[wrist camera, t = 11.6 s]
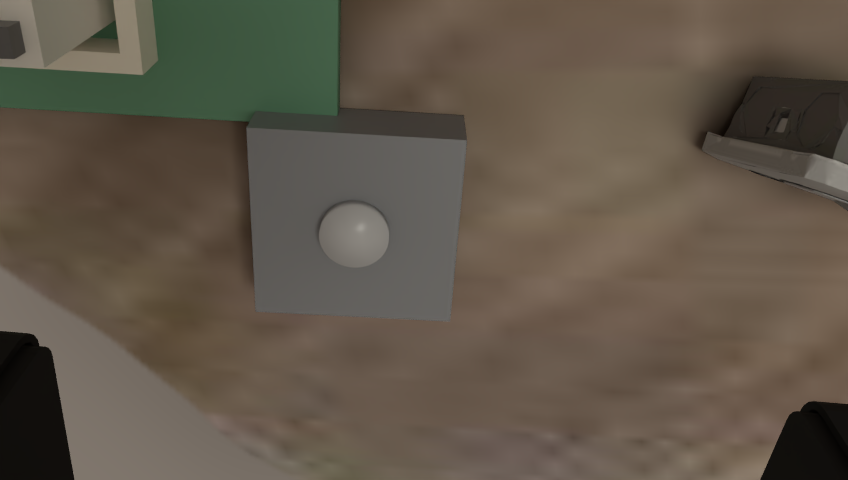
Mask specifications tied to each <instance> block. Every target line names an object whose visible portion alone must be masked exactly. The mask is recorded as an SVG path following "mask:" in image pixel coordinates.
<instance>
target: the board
mask: <svg viewBox="0 0 848 480" xmlns="http://www.w3.org/2000/svg"><path fill="white" fill-rule="evenodd" d="M113 3H114V11H115V19H116V20H115V21H113V22H112V23H110V24H109V25H107V26H106V27H104V28H103V29H101V30H100V31H98V32H97V33H96V34H94V35H93V36H91V37H90V38H88V39H87V40H85V41H84V42H82V43H81V44H79V45H78V46H76V47H75V48H73V49H72V50H71V51H69V52H68V53H66V54H65V55H63V56H62V57H60V58H59V59H57V60H56V61H54V62H53V63H51V64H50V65H48V66H47V67H45V68H27V67H3V66H0V107H4V108H21V109H39V110H56V111H73V112H90V113H108V114H125V115H142V116H160V117H177V118H194V119H211V120H229V121H246V122H250V120H251V118H252V117H253V115H254V113H255V111H263V112H280V113H298V114H315V115H332V116H337V115H338V112H339V108H340V12H341V0H113Z"/></svg>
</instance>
